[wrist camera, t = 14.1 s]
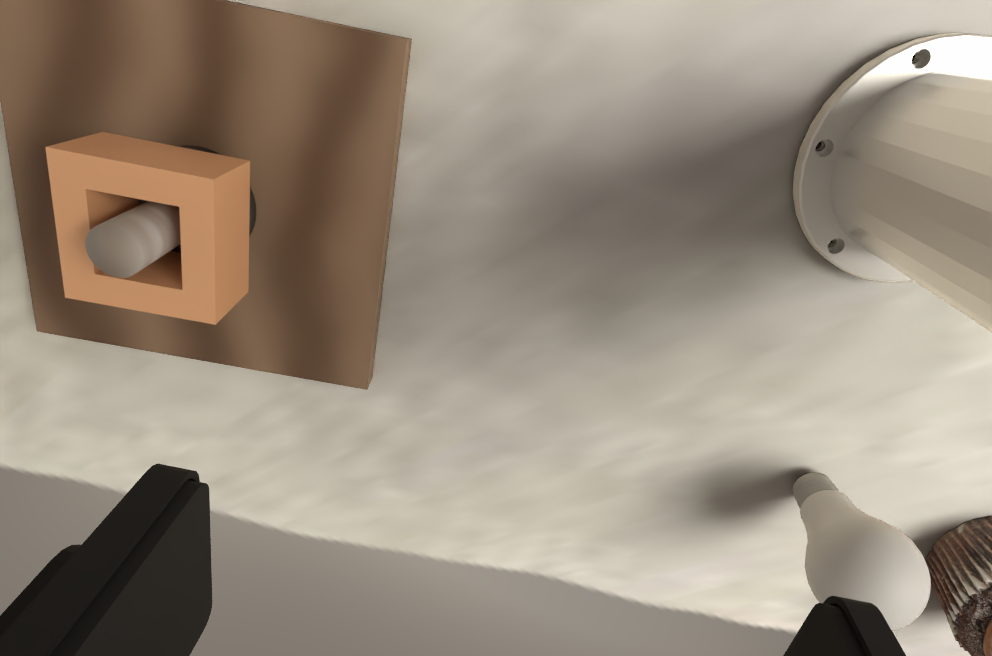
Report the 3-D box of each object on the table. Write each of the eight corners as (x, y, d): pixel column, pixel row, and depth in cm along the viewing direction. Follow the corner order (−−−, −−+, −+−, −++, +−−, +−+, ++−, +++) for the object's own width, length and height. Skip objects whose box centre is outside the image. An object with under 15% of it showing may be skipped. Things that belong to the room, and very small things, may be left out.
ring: (250, 160, 30) (213, 179, 26) (248, 292, 33) (215, 324, 29) (102, 131, 30) (45, 146, 26) (114, 267, 33) (64, 297, 29)
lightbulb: (754, 513, 44) (823, 657, 34) (768, 443, 41) (847, 576, 31) (843, 513, 44) (938, 658, 34) (862, 442, 41) (972, 576, 31)
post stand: (411, 39, 31) (371, 45, 23) (372, 377, 40) (332, 473, 31) (1, -47, 30) (-205, -74, 21) (53, 320, 39) (-78, 404, 30)
